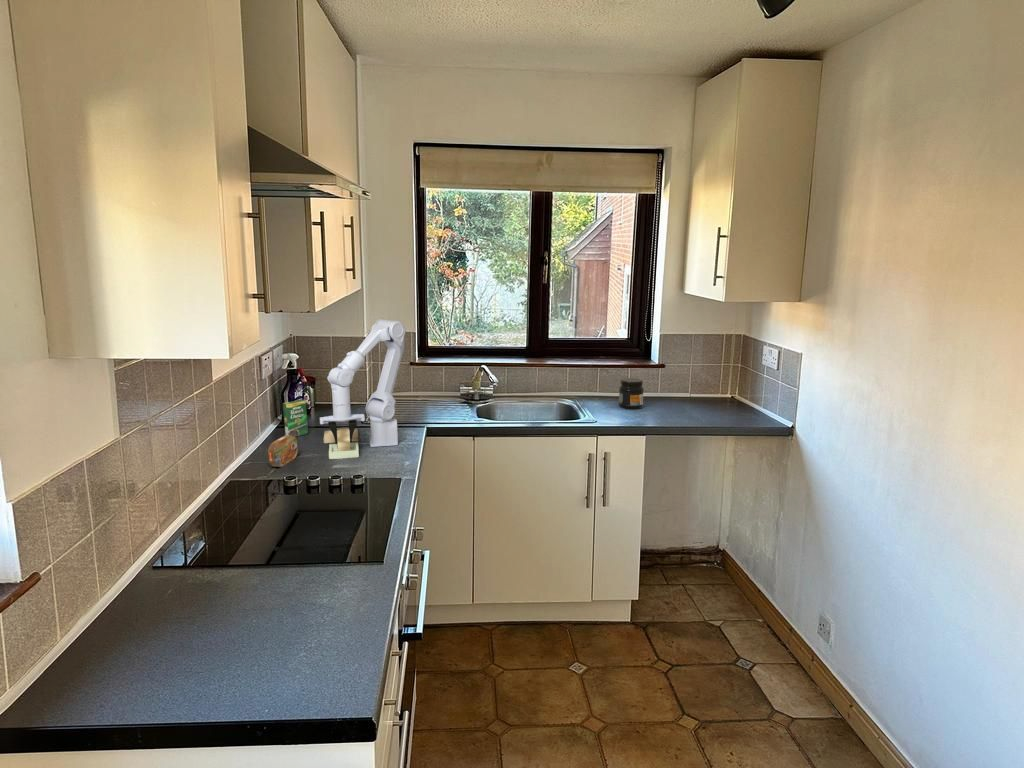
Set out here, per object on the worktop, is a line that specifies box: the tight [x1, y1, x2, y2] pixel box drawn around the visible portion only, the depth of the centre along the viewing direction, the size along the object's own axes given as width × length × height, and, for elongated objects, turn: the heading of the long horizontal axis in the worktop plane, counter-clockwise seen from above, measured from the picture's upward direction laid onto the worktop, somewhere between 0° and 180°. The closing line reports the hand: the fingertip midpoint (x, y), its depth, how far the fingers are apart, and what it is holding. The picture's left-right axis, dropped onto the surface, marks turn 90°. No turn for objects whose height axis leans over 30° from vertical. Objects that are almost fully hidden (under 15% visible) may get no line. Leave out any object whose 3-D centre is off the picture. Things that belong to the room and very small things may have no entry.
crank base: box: [323, 428, 359, 444], centre depth 250 cm, size 12×11×2 cm
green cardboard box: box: [282, 398, 309, 438], centre depth 251 cm, size 8×3×13 cm, turn 133°
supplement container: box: [618, 377, 645, 410], centre depth 295 cm, size 10×10×12 cm
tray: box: [328, 442, 360, 460], centre depth 231 cm, size 10×10×2 cm
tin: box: [267, 434, 299, 468], centre depth 221 cm, size 15×3×8 cm, turn 168°
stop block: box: [337, 426, 350, 451], centre depth 230 cm, size 4×4×7 cm
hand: (343, 442), depth 231 cm, fingers closed on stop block, 4 cm apart
